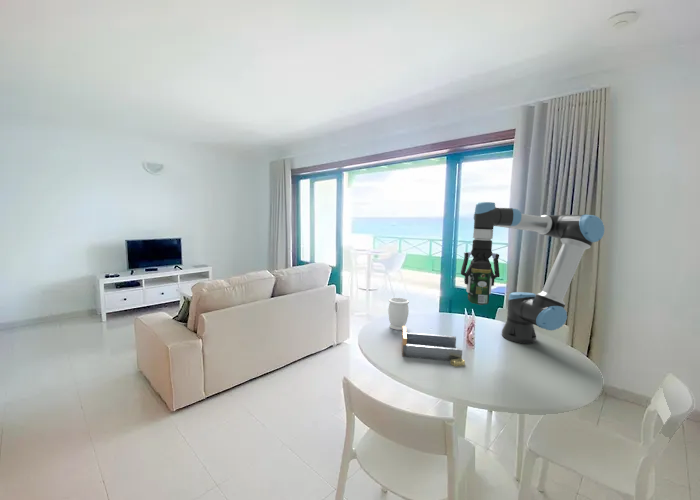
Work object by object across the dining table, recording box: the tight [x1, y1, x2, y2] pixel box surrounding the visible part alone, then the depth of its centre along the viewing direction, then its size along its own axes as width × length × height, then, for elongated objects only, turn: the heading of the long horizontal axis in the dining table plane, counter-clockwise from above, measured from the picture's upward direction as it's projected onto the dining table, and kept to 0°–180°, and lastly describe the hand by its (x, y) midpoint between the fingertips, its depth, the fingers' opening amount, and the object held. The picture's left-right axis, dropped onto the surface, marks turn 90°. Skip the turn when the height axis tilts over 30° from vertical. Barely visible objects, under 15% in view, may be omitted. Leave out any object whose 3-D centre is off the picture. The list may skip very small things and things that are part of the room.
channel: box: [401, 325, 463, 362], centre depth 135 cm, size 24×15×8 cm, turn 81°
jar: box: [387, 297, 410, 331], centre depth 163 cm, size 11×10×15 cm
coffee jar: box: [467, 260, 492, 306], centre depth 131 cm, size 10×8×19 cm
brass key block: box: [449, 358, 466, 367], centre depth 124 cm, size 5×2×2 cm, turn 108°
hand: (478, 292), depth 131 cm, fingers closed on coffee jar, 8 cm apart
